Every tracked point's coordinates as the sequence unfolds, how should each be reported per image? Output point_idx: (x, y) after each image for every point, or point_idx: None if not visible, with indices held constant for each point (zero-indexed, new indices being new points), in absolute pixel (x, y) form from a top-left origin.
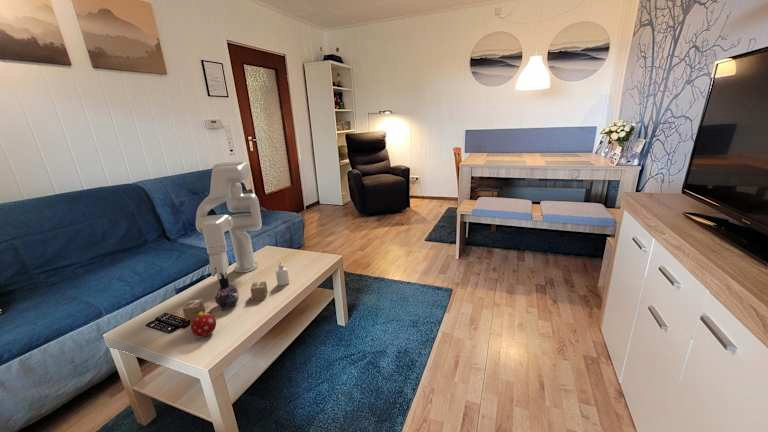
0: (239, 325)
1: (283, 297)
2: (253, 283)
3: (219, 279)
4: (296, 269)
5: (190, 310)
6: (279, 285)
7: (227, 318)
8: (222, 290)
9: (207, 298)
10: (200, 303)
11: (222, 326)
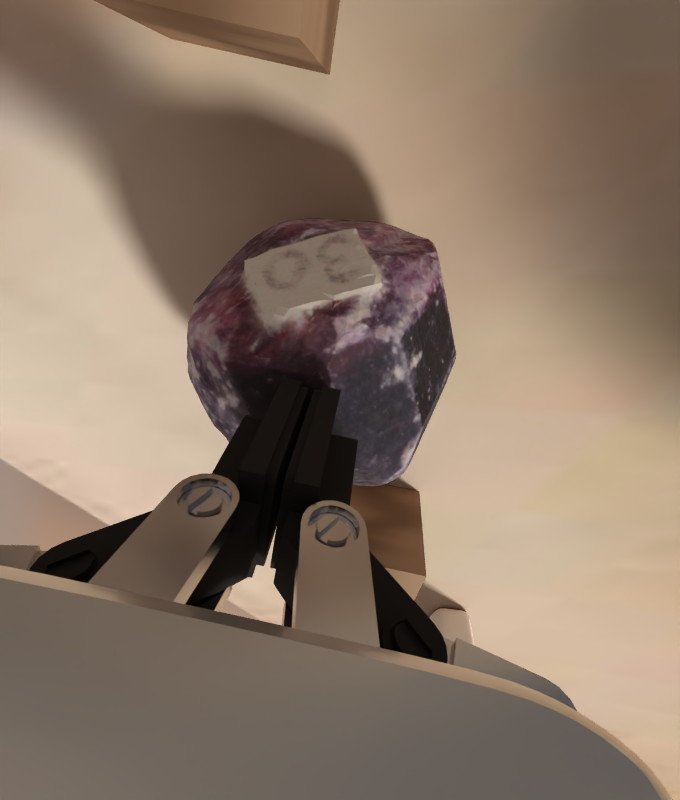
0: (14, 375)
1: (273, 596)
2: (407, 579)
3: (177, 499)
4: (594, 701)
5: None
6: (434, 612)
7: (117, 302)
8: (225, 382)
9: (664, 60)
10: (164, 7)
11: (10, 265)
